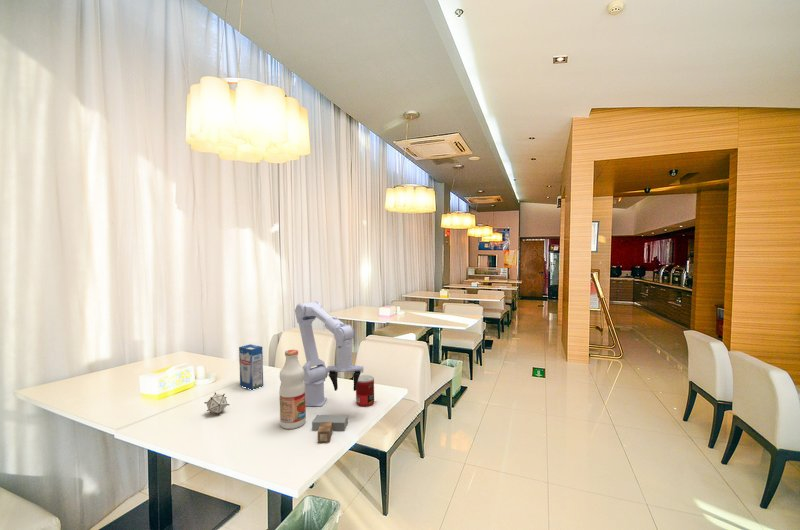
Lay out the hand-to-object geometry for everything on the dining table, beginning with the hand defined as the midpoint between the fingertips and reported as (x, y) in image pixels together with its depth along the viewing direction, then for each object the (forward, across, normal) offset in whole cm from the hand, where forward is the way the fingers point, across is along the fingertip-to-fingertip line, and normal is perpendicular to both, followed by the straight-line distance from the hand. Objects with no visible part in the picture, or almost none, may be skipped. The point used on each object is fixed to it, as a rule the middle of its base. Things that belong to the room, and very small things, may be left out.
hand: (345, 389), depth 137 cm
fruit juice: (+11, -19, -7) cm, 23 cm away
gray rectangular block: (+10, -4, -9) cm, 14 cm away
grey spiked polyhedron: (+11, -54, +1) cm, 55 cm away
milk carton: (+11, -54, +30) cm, 63 cm away
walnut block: (+9, -4, -13) cm, 16 cm away
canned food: (+11, +6, +12) cm, 17 cm away
